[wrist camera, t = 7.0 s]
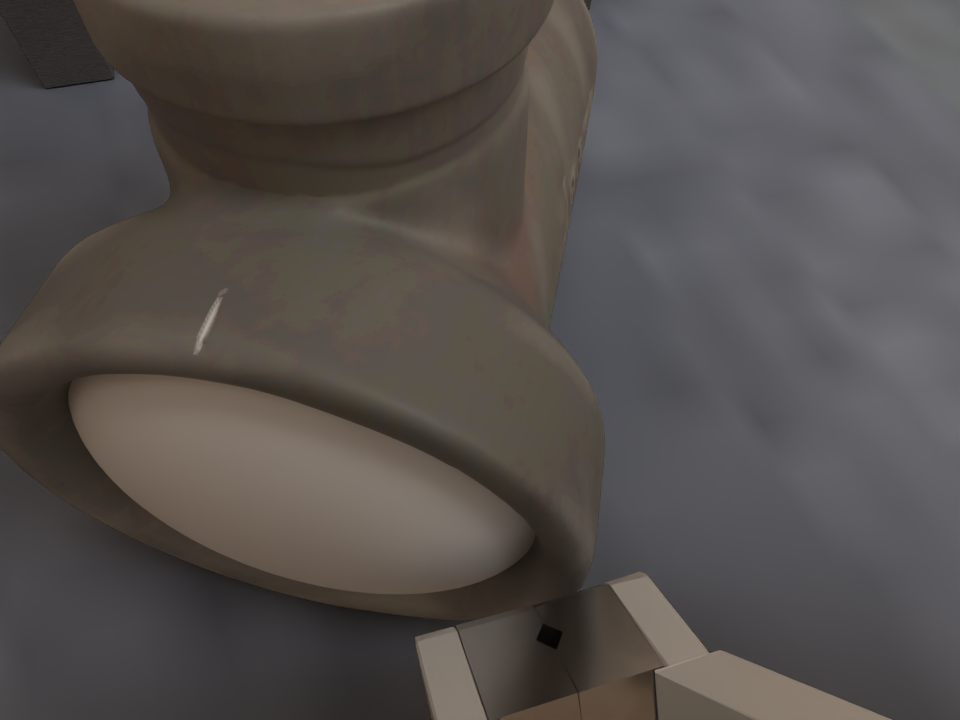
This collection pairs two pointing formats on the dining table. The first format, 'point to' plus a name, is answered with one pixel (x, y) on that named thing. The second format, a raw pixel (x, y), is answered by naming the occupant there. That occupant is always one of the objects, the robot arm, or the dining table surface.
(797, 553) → the dining table surface
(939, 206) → the dining table surface
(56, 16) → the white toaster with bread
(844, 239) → the dining table surface
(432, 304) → the vintage flashlight
